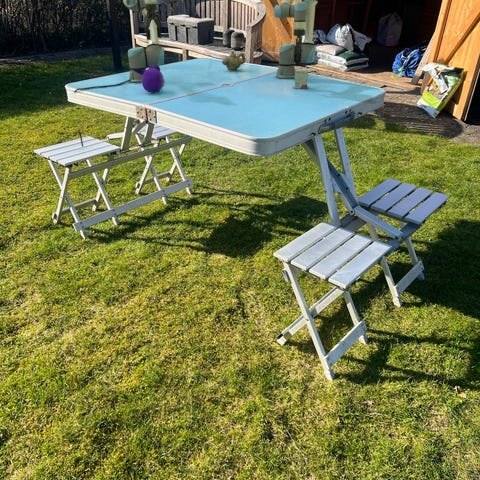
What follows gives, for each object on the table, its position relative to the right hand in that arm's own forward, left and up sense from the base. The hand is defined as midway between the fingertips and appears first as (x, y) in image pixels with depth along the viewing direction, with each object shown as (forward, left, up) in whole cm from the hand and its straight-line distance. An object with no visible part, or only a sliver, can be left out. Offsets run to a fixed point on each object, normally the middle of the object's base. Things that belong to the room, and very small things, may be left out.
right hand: (297, 63), depth 301 cm
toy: (+98, -19, -16) cm, 101 cm away
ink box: (-3, +1, -16) cm, 16 cm away
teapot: (+28, -79, -16) cm, 85 cm away
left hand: (+92, -34, +16) cm, 100 cm away
